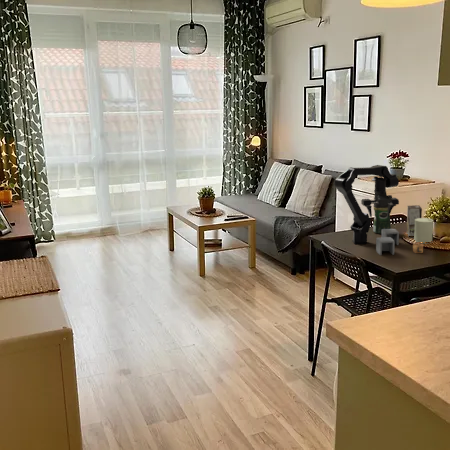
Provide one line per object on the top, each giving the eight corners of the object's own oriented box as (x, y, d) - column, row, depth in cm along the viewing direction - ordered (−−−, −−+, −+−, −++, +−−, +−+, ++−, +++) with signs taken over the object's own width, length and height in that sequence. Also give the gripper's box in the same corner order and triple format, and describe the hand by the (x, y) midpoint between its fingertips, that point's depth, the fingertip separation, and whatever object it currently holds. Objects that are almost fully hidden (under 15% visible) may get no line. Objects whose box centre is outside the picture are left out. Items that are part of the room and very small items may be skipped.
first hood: (379, 255, 251) (380, 241, 250) (376, 251, 258) (376, 237, 257) (394, 254, 251) (394, 240, 250) (390, 250, 258) (390, 237, 256)
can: (434, 243, 266) (435, 221, 263) (415, 243, 268) (416, 221, 265) (430, 238, 275) (431, 217, 272) (412, 238, 277) (413, 217, 274)
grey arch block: (385, 245, 267) (385, 232, 265) (381, 241, 274) (381, 229, 272) (398, 245, 267) (399, 232, 265) (394, 241, 273) (394, 228, 272)
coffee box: (421, 237, 278) (422, 208, 274) (408, 237, 279) (409, 208, 276) (418, 233, 287) (419, 205, 283) (406, 233, 288) (407, 205, 284)
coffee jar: (388, 230, 296) (389, 198, 291) (392, 233, 288) (393, 201, 284) (371, 230, 297) (372, 199, 292) (374, 234, 289) (375, 202, 284)
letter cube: (415, 253, 252) (415, 246, 251) (412, 251, 256) (413, 244, 255) (422, 252, 252) (423, 245, 251) (420, 250, 256) (420, 243, 255)
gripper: (366, 192, 266) (365, 221, 269) (402, 190, 265) (401, 220, 269) (361, 188, 277) (360, 216, 280) (396, 187, 276) (395, 215, 280)
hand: (379, 217), depth 277 cm, fingers open, 9 cm apart
